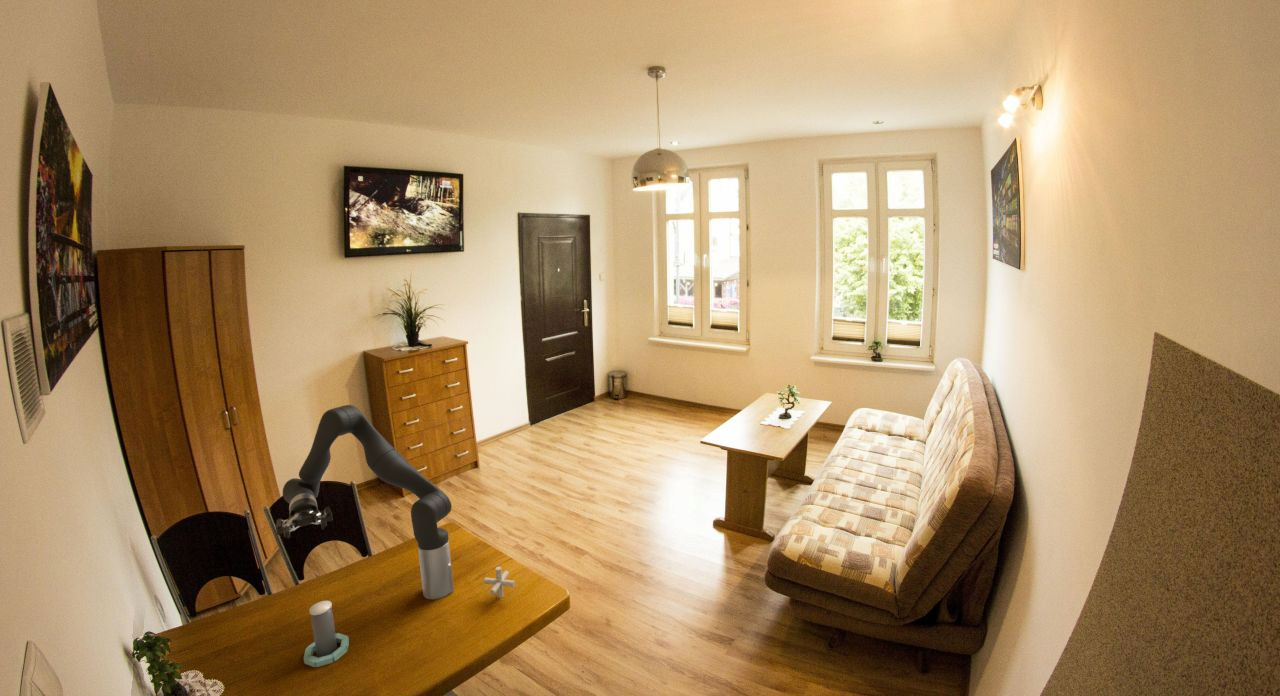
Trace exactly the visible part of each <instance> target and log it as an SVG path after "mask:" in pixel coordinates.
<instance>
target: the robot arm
mask: <svg viewBox="0 0 1280 696" xmlns="http://www.w3.org/2000/svg"><path fill="white" fill-rule="evenodd" d="M322 414H323V415H321V418H320V420H319V422H318V427H317V429H316V432H315V436H314V439H313V443H312V445H311V447H310V448H311V449H310V450H309V453H308V455H307V456H306V458H305V460H304V462H303V464H302V465H301V467H300V470H299V472H298V477H299V478H291V479H289V480H287V481H286V482H285V483H284V485H283V488H282V497H283V499H284V500H285V502H286V503H287V504H289V506H288V507H289V508H288V511H289V512H288V513H289V516H288V518H287V519H282V518H278V519H276V523H275V524H276V525H275V531H276V535H277V536H280V535H282V534H283V537H284V538H287V539H289V538H291V532H295V531H296V530H297V529H298V528H300V527H304V526H308V525H311V524H312V525H317V526H318V525H320V527H321V530H324V529H326V528H325V527H327V525H328V524H327V522H333V521H334V519H333V511H332V510H331V507H330V506H326V507H324V509H323V510H319V508H318V503H317V500H316V499H317V497H318V495H319V492H320V487H321V481H322V478H323V476H324V474H325V473H326V470H327V469H328V468H329V465H330V463H331V459H332V458H331V447H332V445H333V443H334V442H335V441H336V440H337V438H338V437H341V436H344V435H346V434H351V435H352V436H354V437H355V438H356V439H357V440H358V441H359V443H360V444H361V445H362V448H363V451H364V457H365V461H366V464H367V466H368V467H369V469H370V470H371V471H372V472H373V473H374V474H375V475H376V476H377V477H378V478H379V479H380V480H381V481H382V482H385V483H387V484H388V485H391V486H395V487H398V488H401V489H404V490H407V491H409V492H410V493H412V494H413V495H415V497H417V498H418V499H417V500H416V501H415V502H414V503H413V504H412V506H411V509H410V518H411V525H412V529H413V530H412V531H413V536H414V539H415V541H416V543H417V548H418V560H419V566H420V567H419V568H420V569H419V570H420V578H421V588H422V596H423V597H424V598H425V599H427V600H438V599H441V598H444V597H446V596H448V595H450V594H451V593H454V590H455V588H454V580H453V569H452V568H453V567H452V561H451V551H450V550H451V549H450V541H449V533H448V530H447V529H445V528H442V527H438V523H439V522H440V521H442V520H443V519H444V518H446V517H447V516H448V515H450V513H451V512H452V501H451V500H450V498H449V496H447V494H446V493H445V492H444V491H443V490H442V489H440V488H439V487H438V486H437V485H435V484H434V483H433V482H431V481H430V480H429V479H428V478H426V477H425V476H424V475H423V474H422V473H421V472H419V471H418V470H417V469H416V468H415V467H414V466H413V465H412V464H411V463H410V462H409V461H408V460H407V459H406V458H405V457H404V456H403V455H402V454H401V453H400V452H399V451H398V450H397V449H396V448H395V447H394V446H393V445H391V444H390V443H389V442H388V441H387V440H386V438H385V437H384V436H383V435H382V434H381V433H380V432H378V430H377V429H376V427H374V425H373V424H372V423H371V422H370V420H368V418H367V417H366V416H365V414H364V413H363V412H362V411H361V410H360V409H359V408H358V407H357V406H355V405H353V404H352V405H351V404H346V405H341V406H338V407H333V408H331V409H328V410H326V411H325V412H324V413H322Z"/></svg>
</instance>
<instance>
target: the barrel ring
mask: <svg viewBox="0 0 1280 696" xmlns="http://www.w3.org/2000/svg"><path fill="white" fill-rule="evenodd" d="M335 635H336V642H337V643H338V644H340V647H337V650H336V651H335V652H333V653H332V654H330V655H327V656H323V657H320V658H318V657H317V656H315V655H313V654H314V652H316V648H315V641H313V642H312V643H310V644H309V645H308V646H307V647H306V648H305V651H304V654H303V664H305V665H307V666H309V667H313V668H319V667H323V666H326V665H329V664H333V663H334V662H336V661H338V659H340V658H341V657H342V656H343V655H345V654H346V653H347V652H348V651H349V645H350V644H349V643H350V639H349V635H346V634H342V633H341V632H340V633H338V632H337V633H336V632H335Z"/></svg>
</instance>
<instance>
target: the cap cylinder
mask: <svg viewBox="0 0 1280 696" xmlns="http://www.w3.org/2000/svg"><path fill="white" fill-rule="evenodd" d="M332 606H333V605H332V601H330V600H321V601H319V602H316V603H314V604H313V605H311V607H310V608H309V610H308V611H309V615H310V619H311V628H312V634H313V639H314V640H313V642H315V648H316V651H315V653H316V657H317V658H320V657H323V656H327V655H330V654H332V653H333V652H335V651H336V650H337V649H338V644H337V642H336V635H335V633H336V629H335V621H334V615H333V607H332Z"/></svg>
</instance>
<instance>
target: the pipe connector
mask: <svg viewBox="0 0 1280 696" xmlns="http://www.w3.org/2000/svg"><path fill="white" fill-rule="evenodd" d="M502 569H503V568H502V566H496V567H495V578H492V577H485V578H484V579H483V584H484V585H492V587H491V588H490V589H489V594H490V595H491V596H494V595H495V594H497V599H502V598H504V587H511V588H514V587H515V586H516V581H515V580H510V579H507V577H509V575H510V572H509V571H508V570H505V571H503V570H502Z"/></svg>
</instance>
